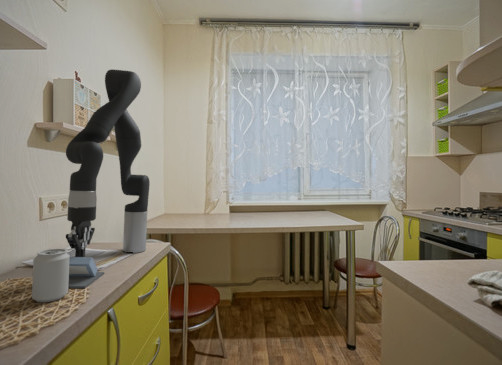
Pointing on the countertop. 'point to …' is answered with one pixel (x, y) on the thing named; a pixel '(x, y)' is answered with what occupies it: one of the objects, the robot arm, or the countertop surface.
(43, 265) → the can
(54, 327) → the countertop surface
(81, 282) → the mat
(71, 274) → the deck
